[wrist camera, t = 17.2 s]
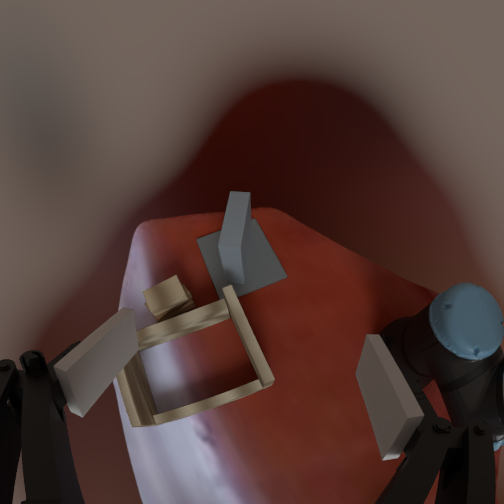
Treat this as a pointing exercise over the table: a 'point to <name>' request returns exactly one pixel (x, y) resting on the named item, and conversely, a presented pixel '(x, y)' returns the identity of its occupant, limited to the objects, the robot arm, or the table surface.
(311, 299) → the table surface
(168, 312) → the offcut
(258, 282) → the mat
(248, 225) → the grey rectangular block
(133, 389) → the rack
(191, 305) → the offcut
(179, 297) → the offcut
